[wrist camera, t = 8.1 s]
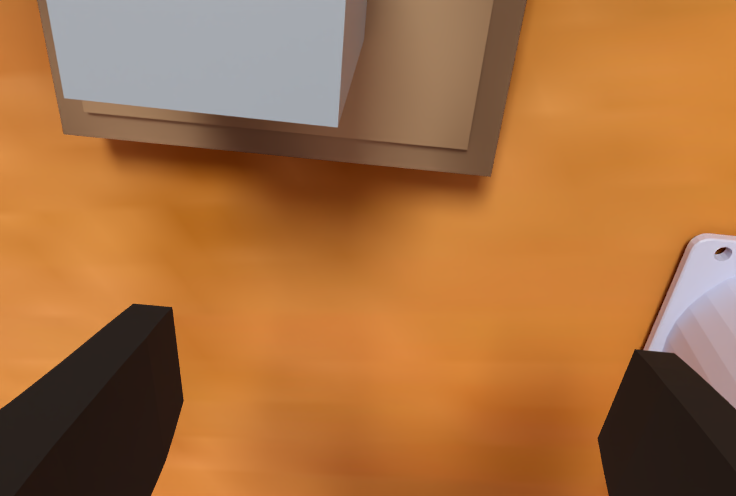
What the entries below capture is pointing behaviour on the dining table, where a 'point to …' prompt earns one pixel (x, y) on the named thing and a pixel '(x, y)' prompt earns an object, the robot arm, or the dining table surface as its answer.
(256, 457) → the dining table surface
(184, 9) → the block
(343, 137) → the plinth
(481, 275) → the dining table surface
